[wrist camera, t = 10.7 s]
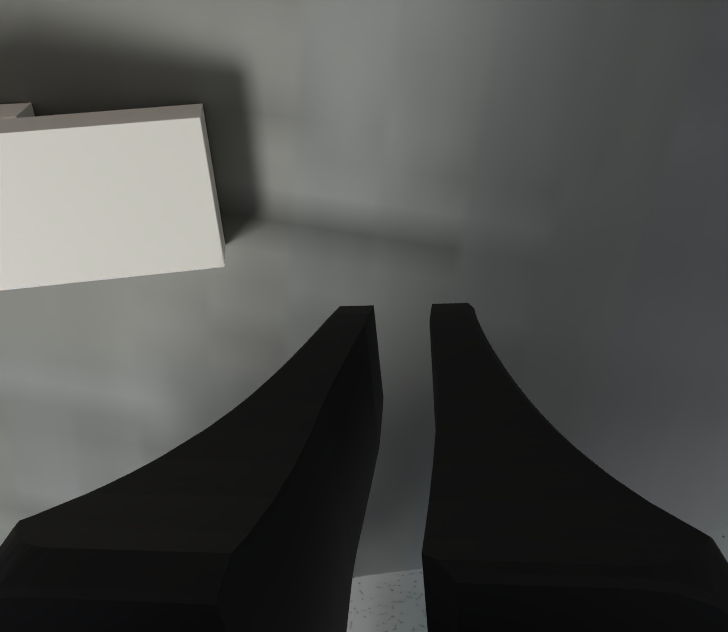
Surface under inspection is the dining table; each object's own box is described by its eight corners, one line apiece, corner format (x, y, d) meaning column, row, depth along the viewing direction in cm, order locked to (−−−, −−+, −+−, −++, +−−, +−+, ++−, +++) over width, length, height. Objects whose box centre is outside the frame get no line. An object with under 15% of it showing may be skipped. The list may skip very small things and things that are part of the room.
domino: (199, 117, 19) (-138, 144, 18) (224, 267, 22) (-71, 297, 21) (202, 103, 21) (-112, 128, 20) (225, 245, 23) (-52, 273, 22)
